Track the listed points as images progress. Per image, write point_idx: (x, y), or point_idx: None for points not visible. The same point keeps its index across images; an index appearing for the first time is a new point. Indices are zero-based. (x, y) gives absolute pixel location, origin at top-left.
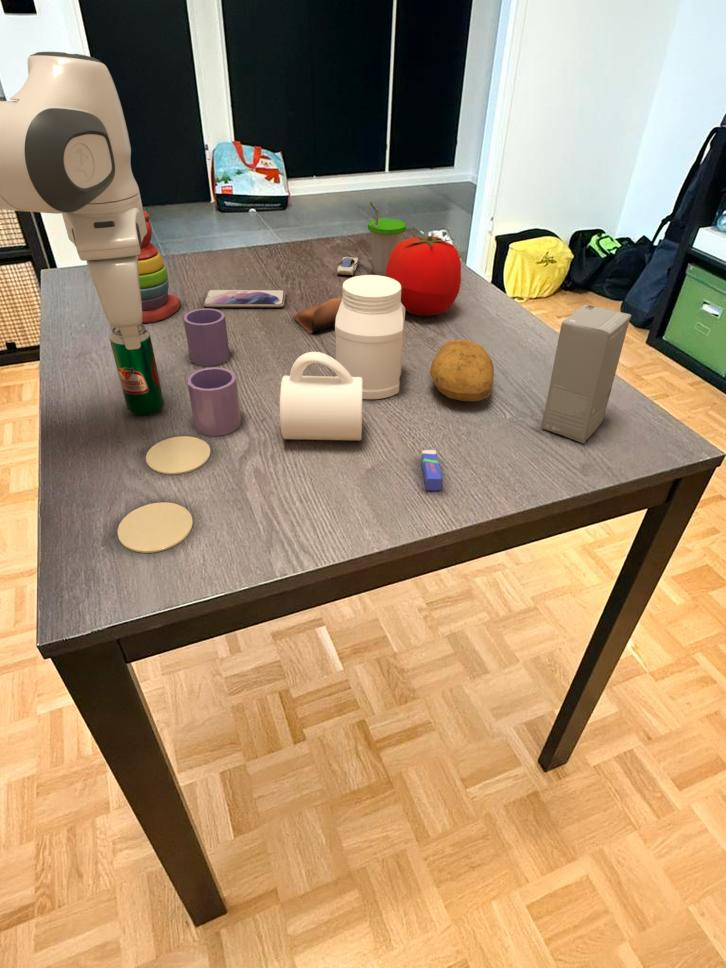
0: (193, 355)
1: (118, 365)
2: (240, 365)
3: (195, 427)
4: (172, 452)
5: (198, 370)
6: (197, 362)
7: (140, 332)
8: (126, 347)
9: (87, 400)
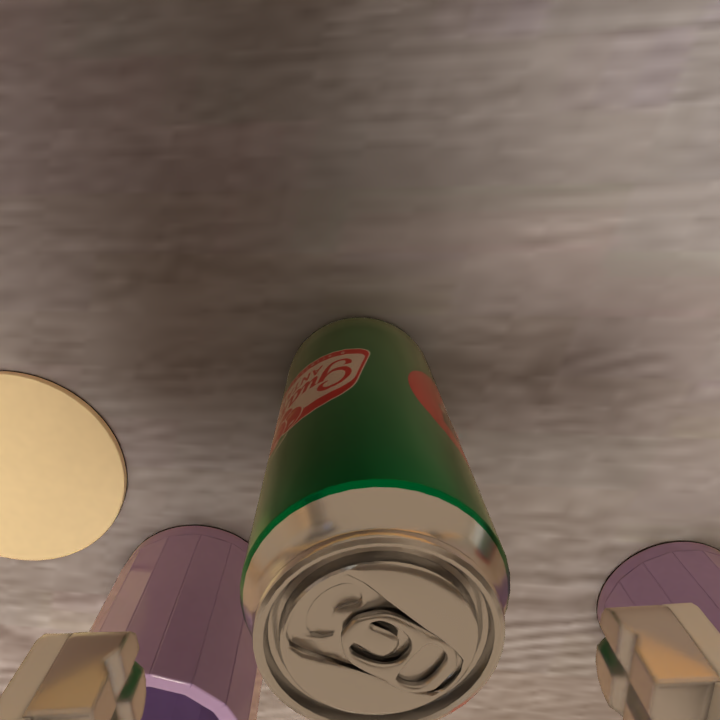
0: (656, 577)
1: (308, 420)
2: (564, 676)
3: (181, 527)
4: (25, 456)
5: (230, 715)
6: (629, 568)
7: (298, 710)
8: (36, 643)
9: (499, 145)
